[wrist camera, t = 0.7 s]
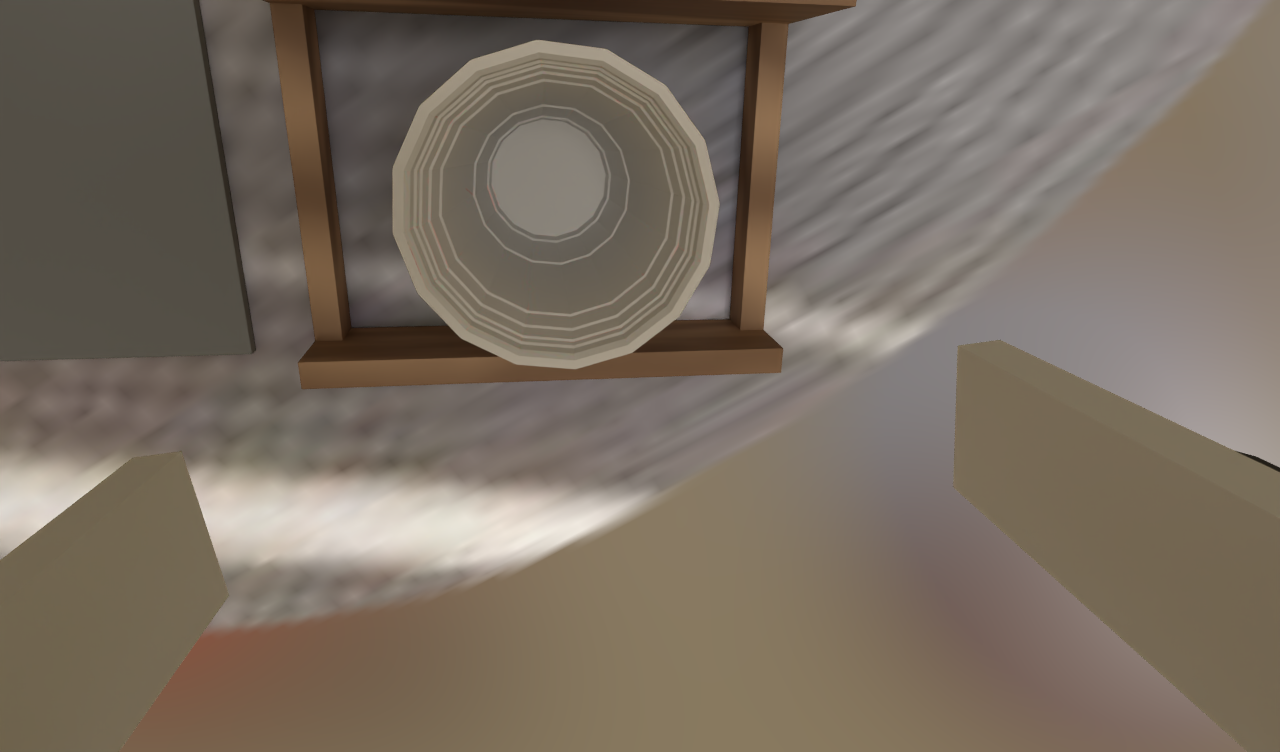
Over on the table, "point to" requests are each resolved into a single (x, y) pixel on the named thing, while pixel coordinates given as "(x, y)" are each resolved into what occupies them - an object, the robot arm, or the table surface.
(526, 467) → the table surface
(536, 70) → the plastic cup
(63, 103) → the mat
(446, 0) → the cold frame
